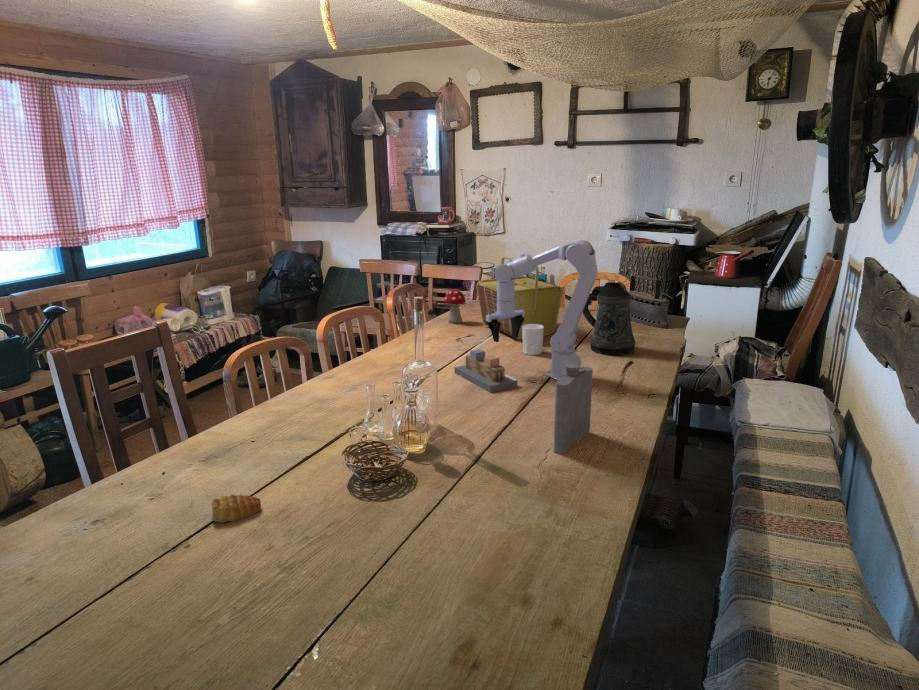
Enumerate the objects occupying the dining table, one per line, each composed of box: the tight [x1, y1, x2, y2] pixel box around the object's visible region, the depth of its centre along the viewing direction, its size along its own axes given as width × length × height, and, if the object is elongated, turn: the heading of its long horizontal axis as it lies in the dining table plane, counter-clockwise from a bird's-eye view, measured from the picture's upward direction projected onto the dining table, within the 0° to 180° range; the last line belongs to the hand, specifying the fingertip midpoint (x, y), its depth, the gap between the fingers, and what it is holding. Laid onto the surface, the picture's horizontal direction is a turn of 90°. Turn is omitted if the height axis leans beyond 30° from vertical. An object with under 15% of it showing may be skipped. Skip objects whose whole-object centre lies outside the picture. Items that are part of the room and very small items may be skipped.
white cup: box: [522, 324, 544, 356], centre depth 225 cm, size 8×8×10 cm
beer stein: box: [582, 281, 636, 357], centre depth 226 cm, size 16×19×25 cm
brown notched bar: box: [465, 355, 506, 382], centre depth 198 cm, size 17×4×4 cm, turn 30°
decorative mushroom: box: [443, 288, 467, 325], centre depth 271 cm, size 10×9×15 cm
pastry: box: [211, 493, 262, 524], centre depth 123 cm, size 9×7×4 cm
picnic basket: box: [475, 256, 564, 340], centre depth 254 cm, size 29×26×30 cm
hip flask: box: [553, 363, 594, 455], centre depth 150 cm, size 16×4×20 cm, turn 144°
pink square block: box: [484, 354, 500, 367], centre depth 193 cm, size 4×4×2 cm
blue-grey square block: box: [469, 348, 486, 361], centre depth 200 cm, size 4×4×2 cm
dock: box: [454, 364, 518, 393], centre depth 198 cm, size 22×10×2 cm, turn 30°
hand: (505, 339), depth 206 cm, fingers open, 7 cm apart
